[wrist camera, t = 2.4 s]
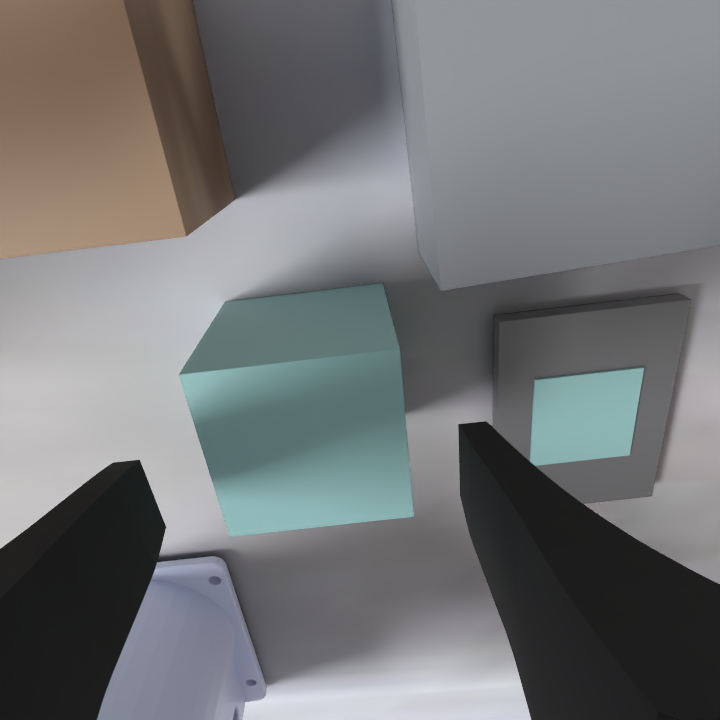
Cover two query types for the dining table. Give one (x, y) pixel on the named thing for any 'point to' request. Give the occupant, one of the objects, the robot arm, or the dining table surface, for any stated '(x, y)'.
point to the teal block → (302, 411)
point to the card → (590, 391)
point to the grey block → (559, 132)
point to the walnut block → (105, 125)
